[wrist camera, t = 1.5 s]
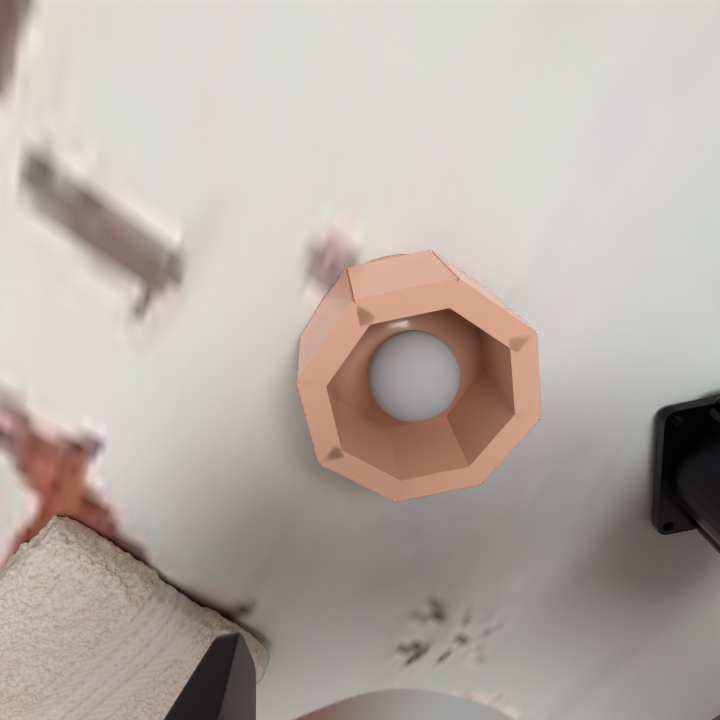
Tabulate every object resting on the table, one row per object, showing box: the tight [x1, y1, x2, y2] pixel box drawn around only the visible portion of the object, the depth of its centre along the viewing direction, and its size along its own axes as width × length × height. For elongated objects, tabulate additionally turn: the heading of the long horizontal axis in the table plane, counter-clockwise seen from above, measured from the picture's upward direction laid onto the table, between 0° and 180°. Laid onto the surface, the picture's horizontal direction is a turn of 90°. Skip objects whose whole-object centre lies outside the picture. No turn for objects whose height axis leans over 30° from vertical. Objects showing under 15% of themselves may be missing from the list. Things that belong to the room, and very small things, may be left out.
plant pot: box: [297, 250, 541, 502], centre depth 17 cm, size 7×7×4 cm
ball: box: [368, 330, 460, 422], centre depth 17 cm, size 3×3×3 cm
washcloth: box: [0, 515, 270, 720], centre depth 23 cm, size 12×18×3 cm, turn 132°
